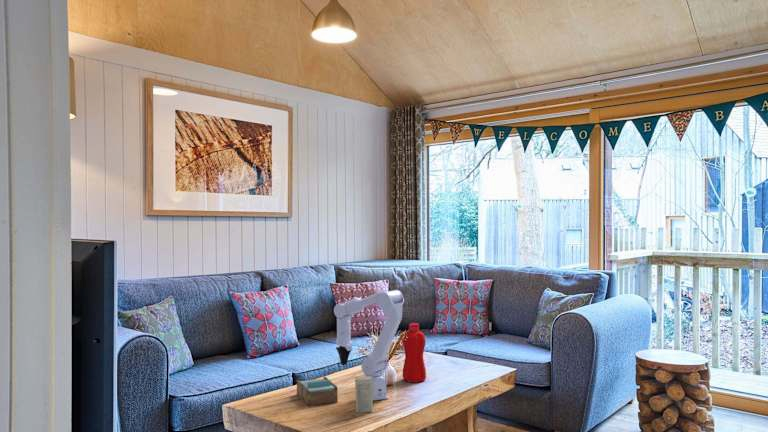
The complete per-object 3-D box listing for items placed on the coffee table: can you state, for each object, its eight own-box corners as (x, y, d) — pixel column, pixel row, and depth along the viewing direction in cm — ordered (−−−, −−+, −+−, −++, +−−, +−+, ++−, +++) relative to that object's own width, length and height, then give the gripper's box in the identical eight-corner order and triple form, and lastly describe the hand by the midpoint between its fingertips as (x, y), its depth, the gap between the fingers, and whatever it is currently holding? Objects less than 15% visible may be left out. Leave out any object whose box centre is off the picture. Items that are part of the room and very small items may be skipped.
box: (337, 402, 225) (337, 386, 225) (307, 406, 220) (307, 390, 220) (325, 390, 239) (325, 376, 239) (296, 394, 235) (296, 379, 235)
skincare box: (372, 408, 217) (372, 375, 217) (372, 412, 213) (372, 379, 213) (355, 408, 217) (355, 376, 217) (355, 412, 213) (355, 379, 213)
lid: (334, 389, 225) (334, 382, 225) (309, 392, 221) (309, 385, 221) (323, 379, 238) (323, 373, 238) (299, 382, 234) (299, 376, 234)
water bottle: (396, 379, 256) (396, 323, 256) (417, 376, 261) (417, 320, 261) (407, 384, 248) (406, 326, 248) (428, 381, 253) (428, 324, 253)
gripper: (358, 334, 236) (359, 367, 236) (346, 328, 250) (347, 359, 250) (342, 335, 234) (342, 369, 234) (331, 329, 247) (331, 361, 247)
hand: (343, 364), depth 242 cm, fingers closed
